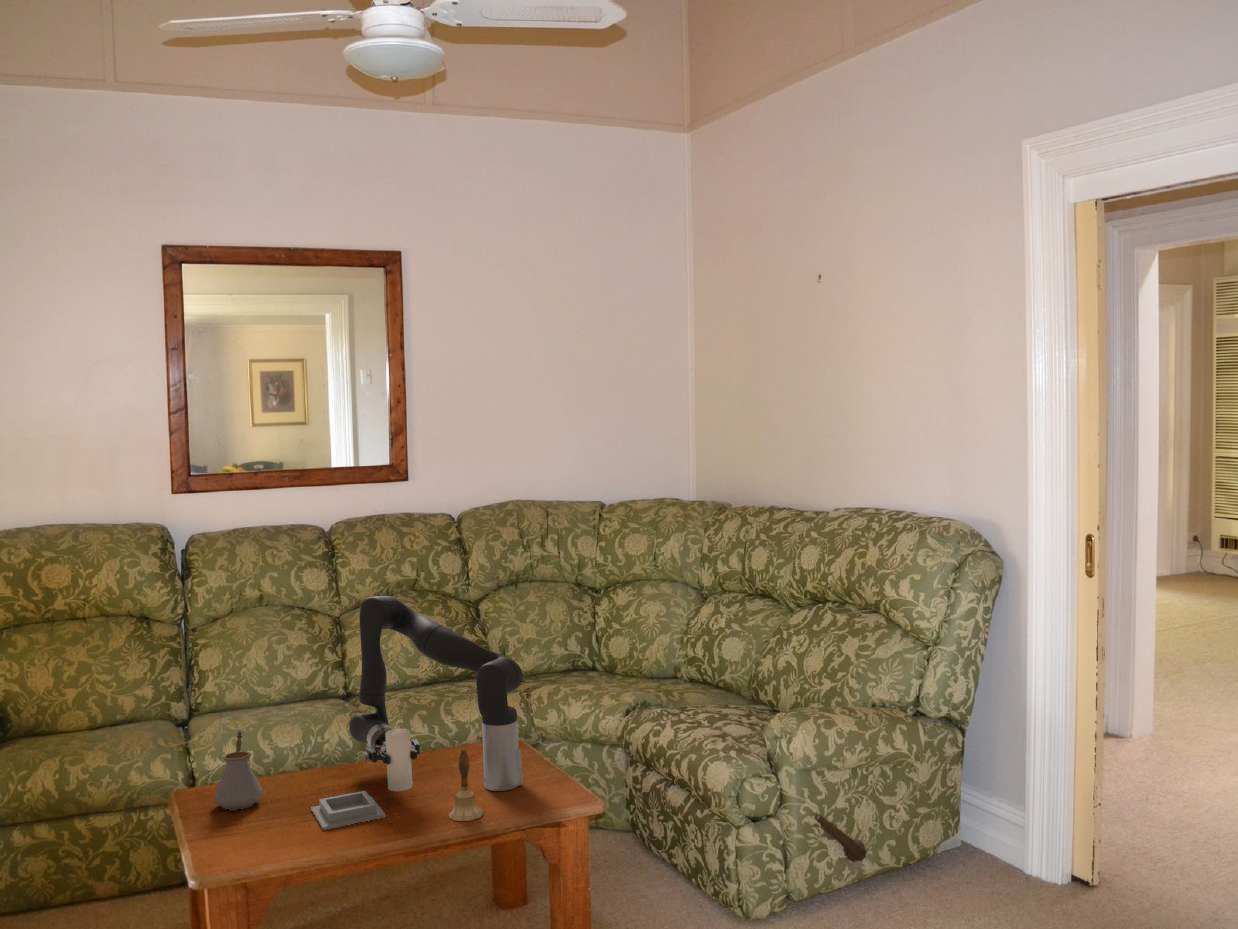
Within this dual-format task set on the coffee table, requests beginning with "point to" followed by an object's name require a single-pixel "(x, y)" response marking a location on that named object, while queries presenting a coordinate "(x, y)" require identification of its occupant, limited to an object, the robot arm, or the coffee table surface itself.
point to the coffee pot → (237, 781)
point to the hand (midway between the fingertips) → (401, 758)
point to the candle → (399, 759)
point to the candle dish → (346, 810)
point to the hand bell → (465, 795)
